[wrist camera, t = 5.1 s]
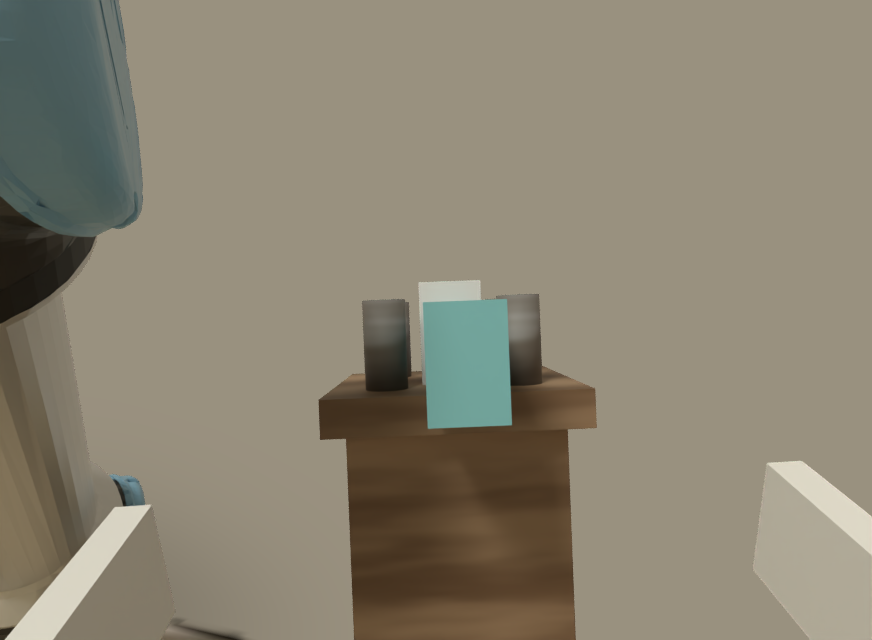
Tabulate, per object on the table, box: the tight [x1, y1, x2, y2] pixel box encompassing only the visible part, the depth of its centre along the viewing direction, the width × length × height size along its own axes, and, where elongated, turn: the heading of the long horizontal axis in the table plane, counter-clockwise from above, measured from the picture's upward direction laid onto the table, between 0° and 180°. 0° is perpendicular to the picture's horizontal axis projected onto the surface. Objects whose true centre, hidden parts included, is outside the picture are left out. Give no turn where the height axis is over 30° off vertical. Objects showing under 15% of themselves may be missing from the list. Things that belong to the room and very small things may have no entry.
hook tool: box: [419, 280, 512, 429], centre depth 30 cm, size 20×4×6 cm, turn 1°
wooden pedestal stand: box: [319, 294, 597, 640], centre depth 35 cm, size 13×14×35 cm
